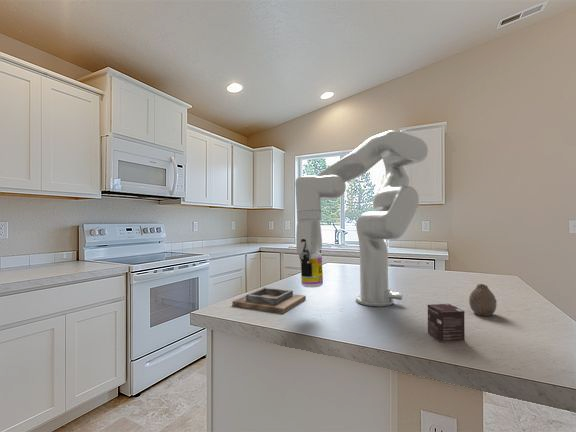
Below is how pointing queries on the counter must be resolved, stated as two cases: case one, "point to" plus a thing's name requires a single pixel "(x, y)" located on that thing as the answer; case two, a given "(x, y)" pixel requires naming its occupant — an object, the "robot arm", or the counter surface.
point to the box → (446, 323)
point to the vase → (482, 301)
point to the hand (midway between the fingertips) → (311, 273)
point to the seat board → (270, 300)
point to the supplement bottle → (314, 271)
